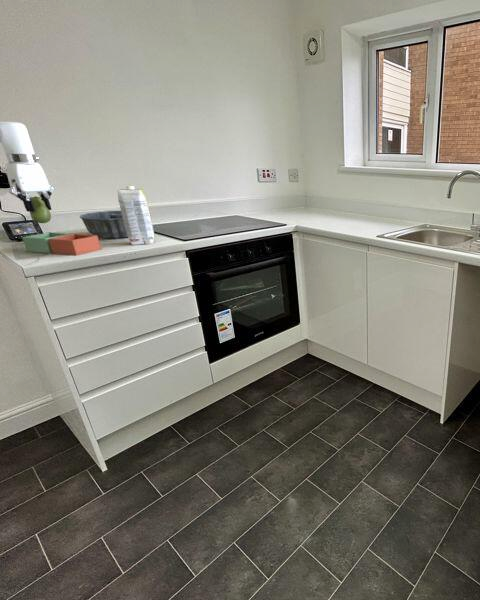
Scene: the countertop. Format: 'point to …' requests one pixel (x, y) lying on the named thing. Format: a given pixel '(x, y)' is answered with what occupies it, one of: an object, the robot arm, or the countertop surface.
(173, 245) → the countertop surface
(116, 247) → the countertop surface
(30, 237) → the green bin
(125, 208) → the juice carton
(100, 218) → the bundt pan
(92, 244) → the terracotta bin
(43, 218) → the pear
